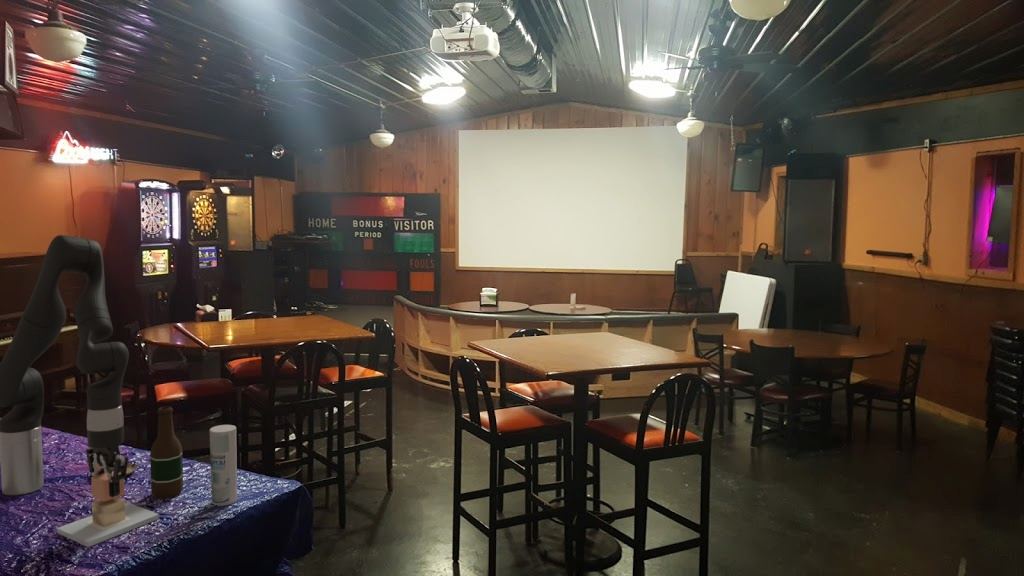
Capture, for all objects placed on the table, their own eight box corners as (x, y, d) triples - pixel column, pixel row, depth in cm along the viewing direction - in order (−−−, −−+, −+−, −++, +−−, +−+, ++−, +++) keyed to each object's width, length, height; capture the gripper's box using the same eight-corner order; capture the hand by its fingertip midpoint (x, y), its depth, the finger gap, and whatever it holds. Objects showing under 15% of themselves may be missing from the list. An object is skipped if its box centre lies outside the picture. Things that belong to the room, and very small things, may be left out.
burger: (103, 486, 184) (102, 461, 184) (82, 477, 190) (81, 452, 190) (146, 473, 194) (145, 448, 194) (124, 464, 201) (123, 440, 200)
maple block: (92, 522, 160) (91, 502, 159) (113, 514, 164) (112, 495, 164) (104, 527, 157) (103, 507, 157) (125, 519, 162) (124, 499, 161)
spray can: (242, 497, 179) (241, 425, 177) (227, 507, 173) (226, 433, 171) (221, 494, 180) (219, 423, 178) (205, 504, 174) (204, 430, 172)
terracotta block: (92, 496, 159) (91, 476, 159) (113, 489, 164) (112, 470, 163) (103, 501, 157) (102, 481, 156) (124, 494, 161) (124, 474, 161)
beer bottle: (170, 500, 176) (167, 412, 173) (144, 497, 177) (141, 410, 175) (189, 489, 183) (187, 405, 181) (165, 486, 185) (162, 402, 182)
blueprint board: (57, 532, 157) (57, 527, 157) (128, 506, 171) (128, 502, 171) (87, 547, 150) (87, 541, 150) (158, 518, 165) (158, 513, 165)
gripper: (138, 426, 158) (140, 494, 160) (104, 416, 165) (107, 481, 167) (106, 434, 152) (109, 505, 153) (72, 423, 159) (75, 492, 160)
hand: (108, 492), depth 160 cm, fingers closed on terracotta block, 4 cm apart
